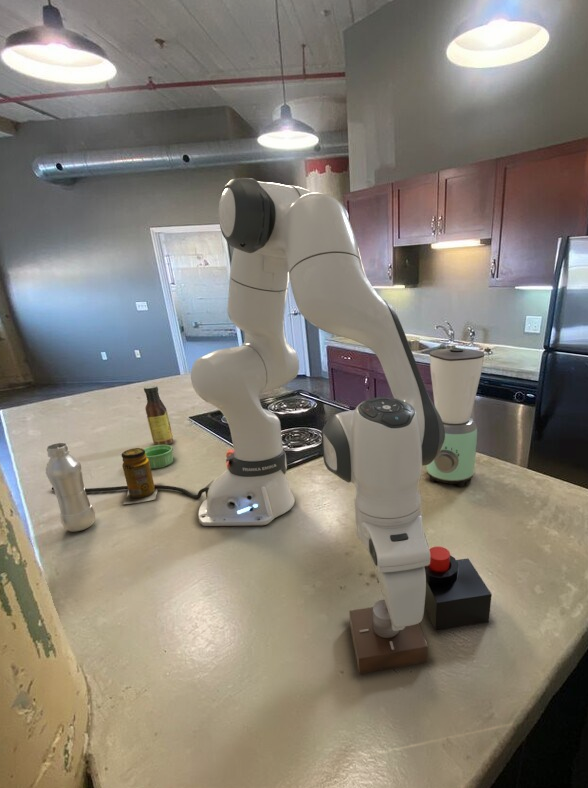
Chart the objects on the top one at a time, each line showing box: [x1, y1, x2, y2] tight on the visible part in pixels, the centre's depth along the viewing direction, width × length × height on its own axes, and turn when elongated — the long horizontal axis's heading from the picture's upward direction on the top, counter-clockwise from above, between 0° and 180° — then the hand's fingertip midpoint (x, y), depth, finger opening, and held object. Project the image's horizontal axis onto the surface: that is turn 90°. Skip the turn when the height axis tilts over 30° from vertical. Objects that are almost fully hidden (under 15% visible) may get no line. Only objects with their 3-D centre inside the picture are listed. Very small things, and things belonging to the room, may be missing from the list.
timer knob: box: [372, 599, 399, 638], centre depth 62 cm, size 4×4×4 cm
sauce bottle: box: [143, 385, 174, 446], centre depth 138 cm, size 6×6×20 cm
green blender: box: [425, 347, 486, 487], centre depth 110 cm, size 19×13×35 cm
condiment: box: [121, 447, 159, 505], centre depth 106 cm, size 7×8×12 cm
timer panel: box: [348, 606, 429, 675], centre depth 63 cm, size 10×9×3 cm
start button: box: [428, 546, 451, 573], centre depth 69 cm, size 4×4×2 cm
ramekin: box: [143, 444, 174, 470], centre depth 126 cm, size 9×9×4 cm
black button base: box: [424, 554, 492, 632], centre depth 69 cm, size 10×10×8 cm
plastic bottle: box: [45, 442, 97, 532], centre depth 91 cm, size 6×7×20 cm
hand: (389, 601), depth 61 cm, fingers open, 8 cm apart
